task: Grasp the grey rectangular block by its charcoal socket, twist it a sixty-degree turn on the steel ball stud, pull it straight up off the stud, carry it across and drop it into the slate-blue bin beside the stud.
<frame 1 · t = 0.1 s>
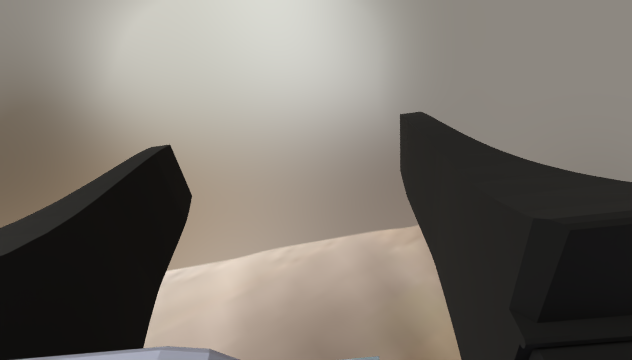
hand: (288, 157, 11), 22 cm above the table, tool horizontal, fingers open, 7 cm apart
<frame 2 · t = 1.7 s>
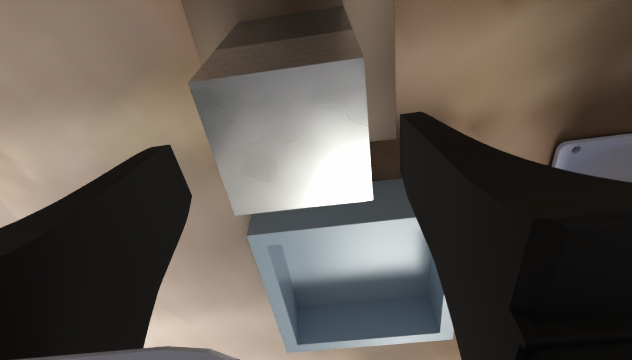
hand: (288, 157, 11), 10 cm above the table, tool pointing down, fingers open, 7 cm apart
bin: (357, 251, 28), on the table
grey rectangular block: (299, 67, 19), point 1 cm above the table, touching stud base
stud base: (299, 62, 19), on the table
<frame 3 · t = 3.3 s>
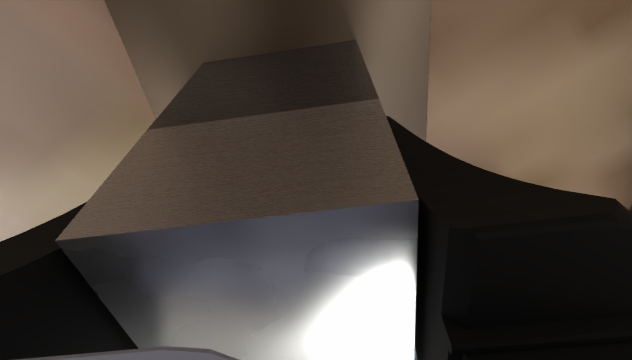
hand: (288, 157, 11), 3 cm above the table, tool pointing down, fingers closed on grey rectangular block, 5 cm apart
grey rectangular block: (292, 121, 13), point 1 cm above the table, touching gripper, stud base
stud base: (293, 112, 14), on the table
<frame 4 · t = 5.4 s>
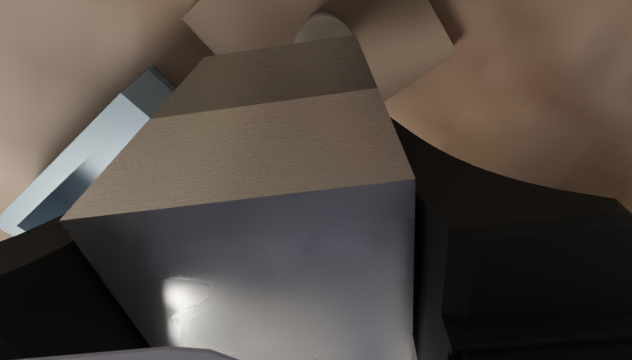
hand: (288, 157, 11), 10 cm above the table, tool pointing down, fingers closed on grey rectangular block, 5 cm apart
bin: (171, 196, 25), on the table
grey rectangular block: (292, 116, 14), point 8 cm above the table, touching gripper
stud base: (322, 31, 19), on the table
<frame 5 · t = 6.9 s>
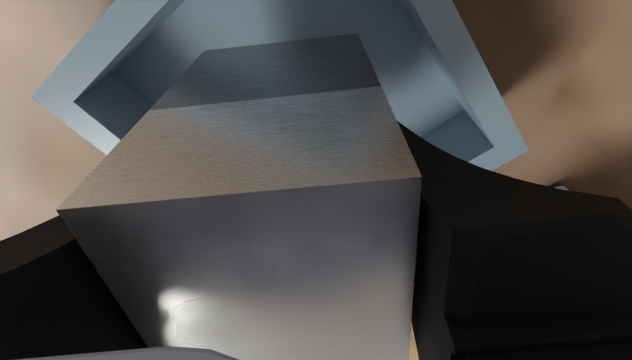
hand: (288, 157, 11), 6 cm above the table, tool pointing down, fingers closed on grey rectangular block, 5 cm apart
bin: (296, 86, 16), on the table
grey rectangular block: (291, 113, 13), point 4 cm above the table, touching gripper
when the fingers open (5 cm above the table, at t = 8.0 s): grey rectangular block drops 2 cm, resting on bin.
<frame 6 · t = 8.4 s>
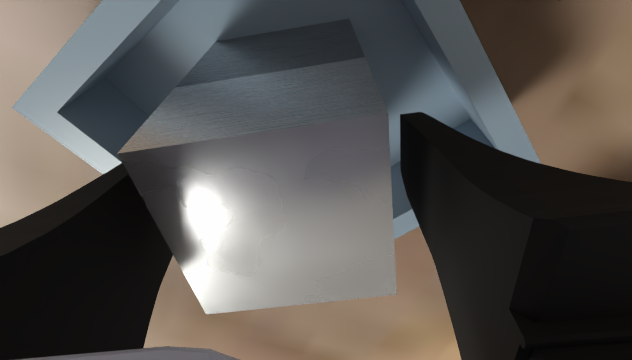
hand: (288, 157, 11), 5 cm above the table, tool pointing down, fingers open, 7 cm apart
bin: (295, 93, 16), on the table
grey rectangular block: (294, 94, 15), point 1 cm above the table, touching bin
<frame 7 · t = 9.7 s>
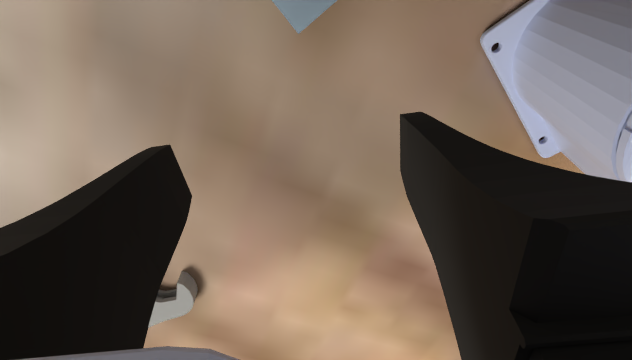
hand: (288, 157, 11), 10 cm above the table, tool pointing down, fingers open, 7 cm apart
adjustable wrench: (118, 326, 36), on the table
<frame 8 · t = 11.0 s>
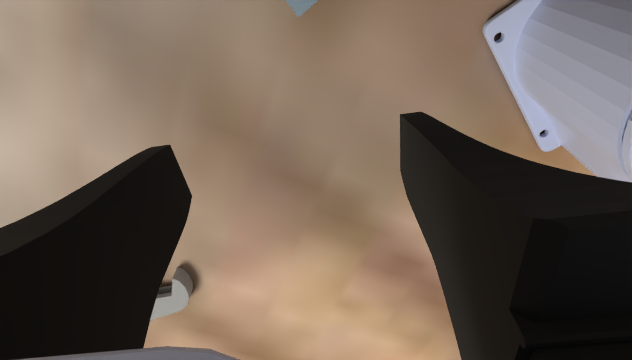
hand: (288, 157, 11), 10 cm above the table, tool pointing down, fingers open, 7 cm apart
adjustable wrench: (112, 322, 35), on the table
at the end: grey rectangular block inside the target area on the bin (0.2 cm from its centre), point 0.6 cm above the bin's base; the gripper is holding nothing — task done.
